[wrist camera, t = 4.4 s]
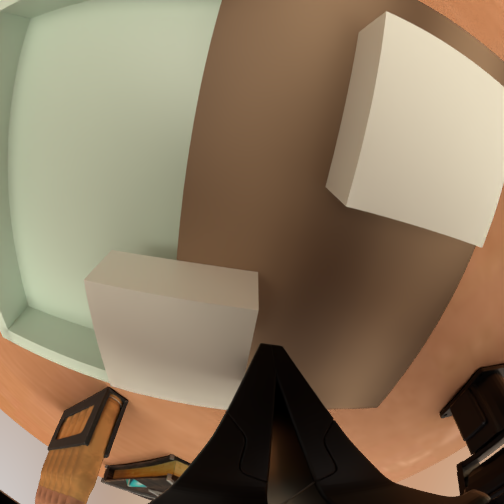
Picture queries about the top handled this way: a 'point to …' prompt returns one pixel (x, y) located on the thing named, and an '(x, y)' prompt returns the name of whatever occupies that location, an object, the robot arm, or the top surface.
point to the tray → (90, 153)
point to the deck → (312, 196)
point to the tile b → (420, 133)
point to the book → (146, 476)
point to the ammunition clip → (80, 448)
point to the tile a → (173, 326)
